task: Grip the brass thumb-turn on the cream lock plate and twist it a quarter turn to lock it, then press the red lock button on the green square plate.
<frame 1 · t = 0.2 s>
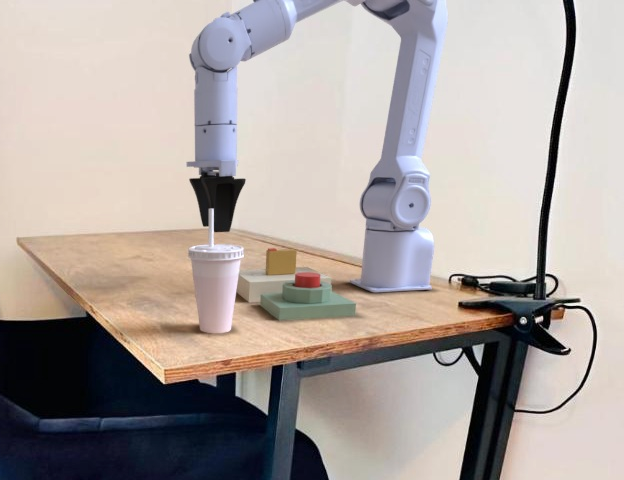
hand: (215, 229, 79), 10 cm above the table, tool pointing down, fingers open, 7 cm apart
thumbturn: (281, 261, 81), point 5 cm above the table, hinge at 0.0°
lock plate: (279, 293, 83), on the table
green square plate: (305, 310, 73), on the table
lock button: (307, 281, 72), point 4 cm above the table, slide at 0.1 cm
smoothie: (215, 330, 66), on the table
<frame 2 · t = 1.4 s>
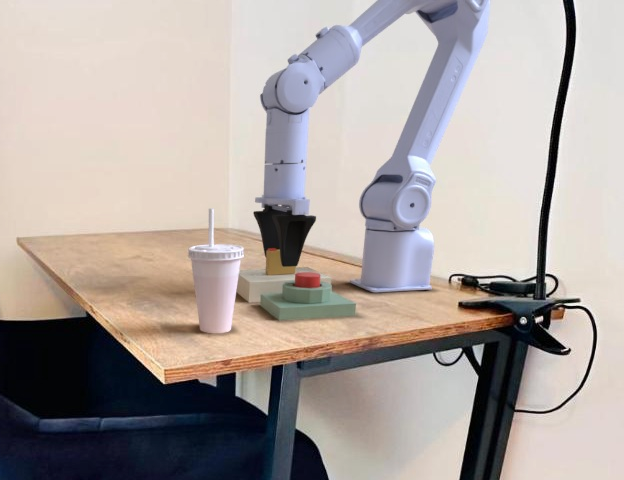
hand: (280, 261, 81), 5 cm above the table, tool pointing down, fingers open, 7 cm apart
nothing on the table moved.
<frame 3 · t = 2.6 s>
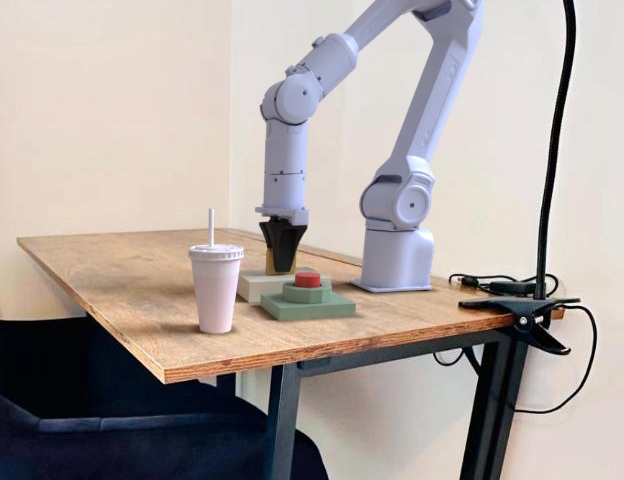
hand: (280, 270, 82), 4 cm above the table, tool pointing down, fingers closed on thumbturn
thumbturn: (281, 261, 81), point 5 cm above the table, hinge at 0.0°, touching gripper
everything else where it was.
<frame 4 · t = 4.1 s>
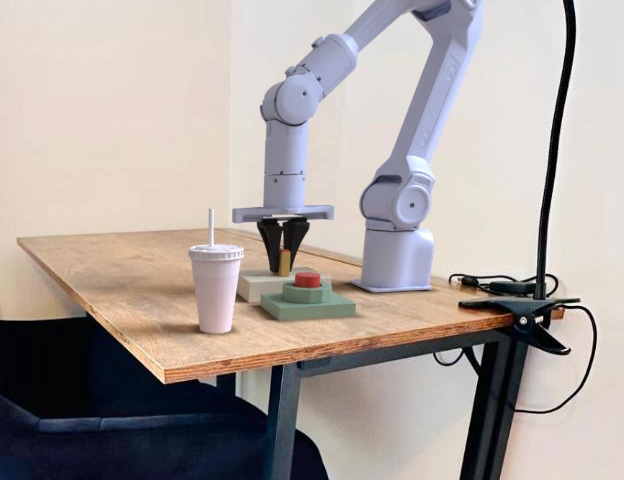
hand: (280, 271, 82), 3 cm above the table, tool pointing down, fingers closed on thumbturn
thumbturn: (281, 261, 81), point 5 cm above the table, hinge at 89.9°, touching gripper
everything else where it was.
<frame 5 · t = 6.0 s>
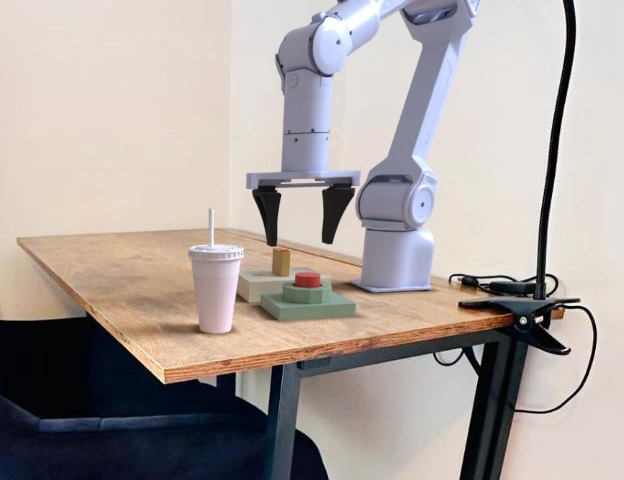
hand: (299, 244, 73), 8 cm above the table, tool pointing down, fingers open, 7 cm apart
thumbturn: (281, 261, 81), point 5 cm above the table, hinge at 89.9°
everything else where it was.
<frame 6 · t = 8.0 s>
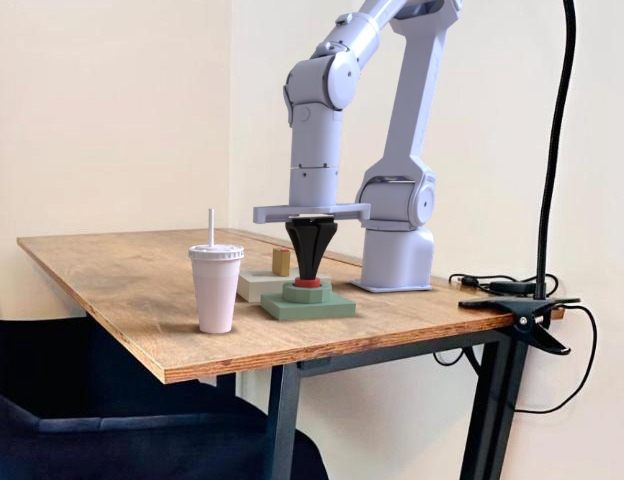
hand: (307, 278, 72), 4 cm above the table, tool pointing down, fingers closed, pressing on lock button
lock button: (307, 285, 72), point 3 cm above the table, slide at -0.4 cm, touching gripper
everything else where it was.
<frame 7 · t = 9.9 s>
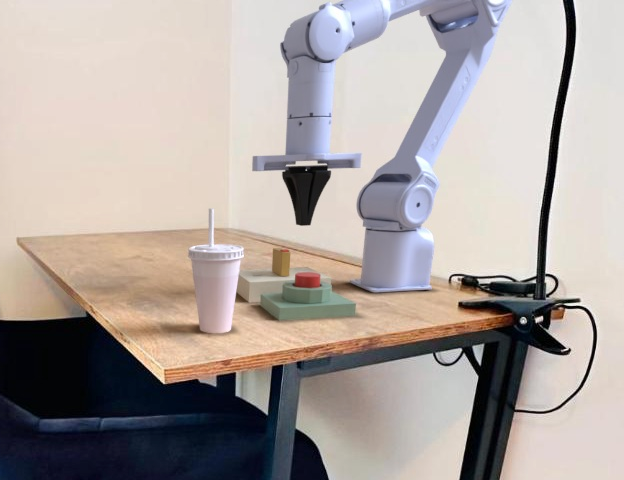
hand: (303, 224, 77), 10 cm above the table, tool pointing down, fingers closed
lock button: (307, 281, 72), point 4 cm above the table, slide at 0.1 cm
everything else where it was.
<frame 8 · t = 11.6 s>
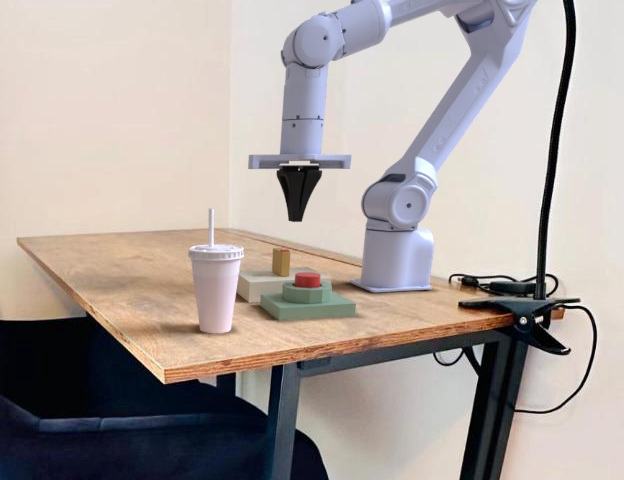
hand: (295, 221, 81), 10 cm above the table, tool pointing down, fingers closed
nothing on the table moved.
at the end: thumbturn at +90° (first picture: +0°); lock button pushed in 1.2 cm at the most during the clip, back to where it started at the end; lock button slide at 0.1 cm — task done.
